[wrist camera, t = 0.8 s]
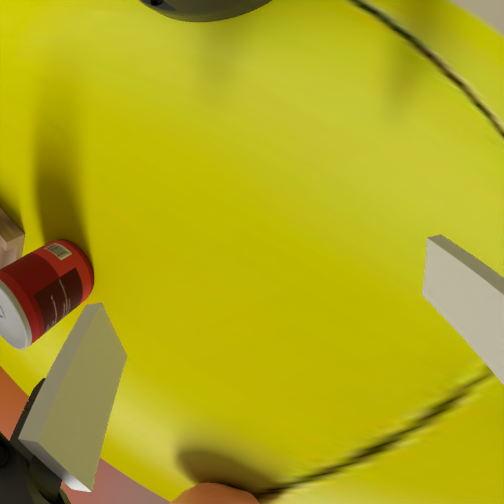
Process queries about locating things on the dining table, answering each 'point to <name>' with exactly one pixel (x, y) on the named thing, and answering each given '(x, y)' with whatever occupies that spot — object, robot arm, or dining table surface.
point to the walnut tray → (9, 240)
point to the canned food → (42, 291)
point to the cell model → (214, 495)
